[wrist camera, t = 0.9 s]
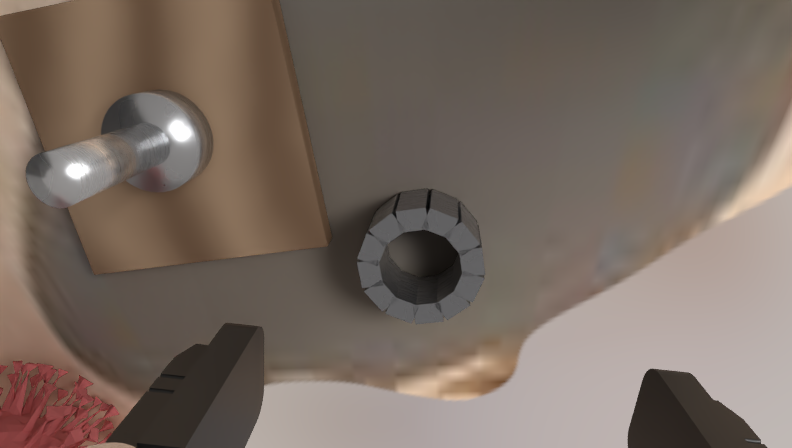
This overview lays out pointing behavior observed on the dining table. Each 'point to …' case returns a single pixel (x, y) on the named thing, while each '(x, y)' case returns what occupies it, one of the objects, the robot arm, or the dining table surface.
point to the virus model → (47, 413)
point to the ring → (430, 293)
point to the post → (128, 151)
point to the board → (208, 89)
